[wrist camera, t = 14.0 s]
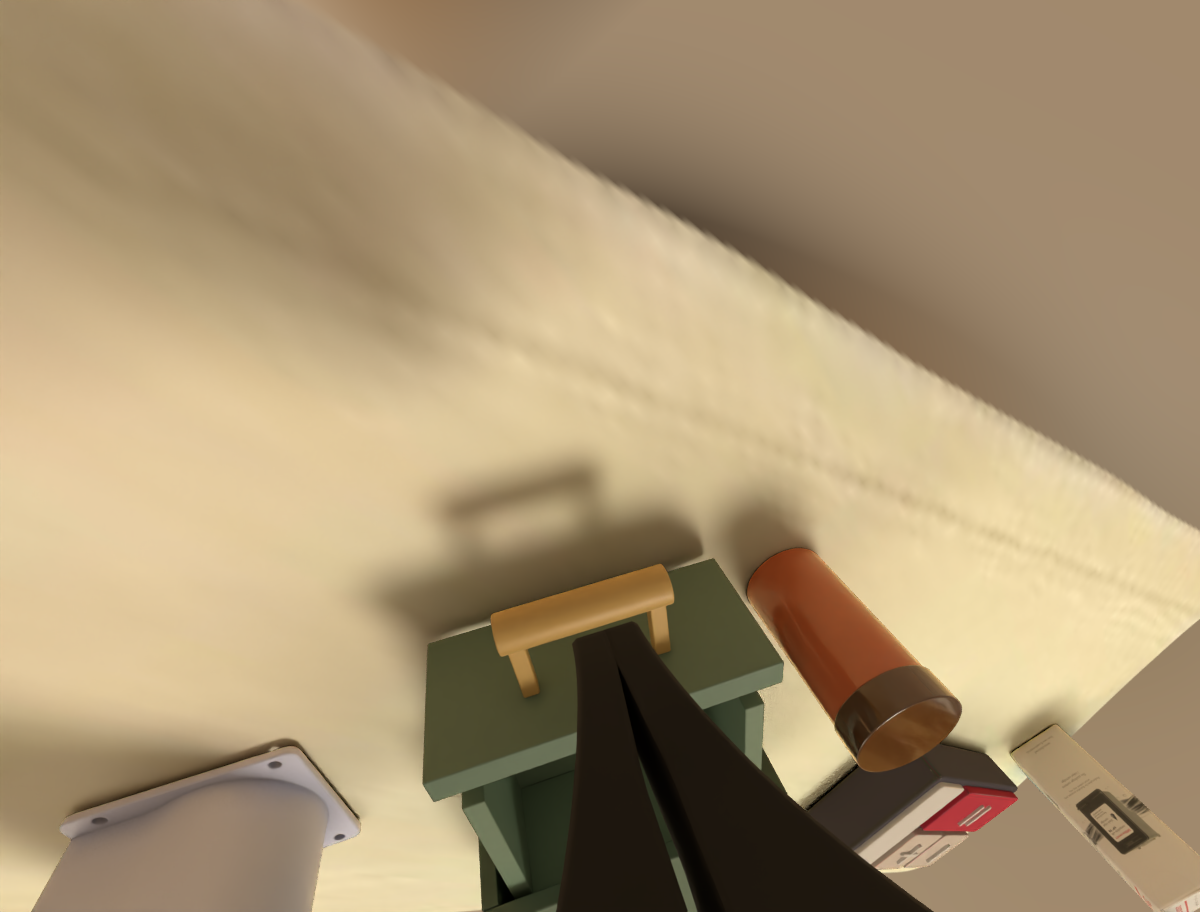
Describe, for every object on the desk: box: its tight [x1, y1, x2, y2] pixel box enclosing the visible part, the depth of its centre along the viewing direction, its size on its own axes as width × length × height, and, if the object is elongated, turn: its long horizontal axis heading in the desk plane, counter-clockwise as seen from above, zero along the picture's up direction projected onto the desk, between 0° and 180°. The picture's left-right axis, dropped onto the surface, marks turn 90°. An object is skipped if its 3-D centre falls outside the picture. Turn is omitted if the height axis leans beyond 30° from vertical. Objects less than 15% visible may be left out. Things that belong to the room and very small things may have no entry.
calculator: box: [807, 744, 1018, 870], centre depth 41 cm, size 11×4×15 cm
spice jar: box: [747, 548, 962, 772], centre depth 23 cm, size 4×4×8 cm
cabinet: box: [479, 748, 787, 912], centre depth 28 cm, size 12×14×7 cm
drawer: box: [423, 558, 784, 900], centre depth 22 cm, size 15×13×6 cm
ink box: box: [1011, 724, 1200, 912], centre depth 42 cm, size 8×5×15 cm, turn 40°
